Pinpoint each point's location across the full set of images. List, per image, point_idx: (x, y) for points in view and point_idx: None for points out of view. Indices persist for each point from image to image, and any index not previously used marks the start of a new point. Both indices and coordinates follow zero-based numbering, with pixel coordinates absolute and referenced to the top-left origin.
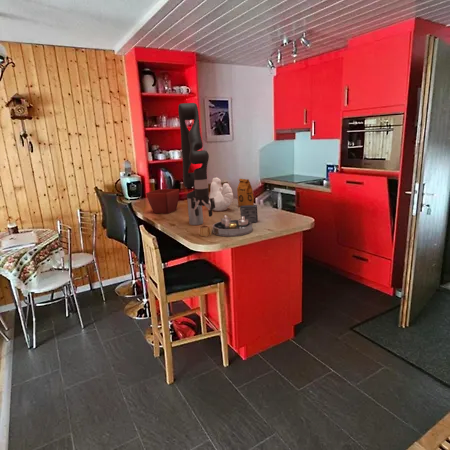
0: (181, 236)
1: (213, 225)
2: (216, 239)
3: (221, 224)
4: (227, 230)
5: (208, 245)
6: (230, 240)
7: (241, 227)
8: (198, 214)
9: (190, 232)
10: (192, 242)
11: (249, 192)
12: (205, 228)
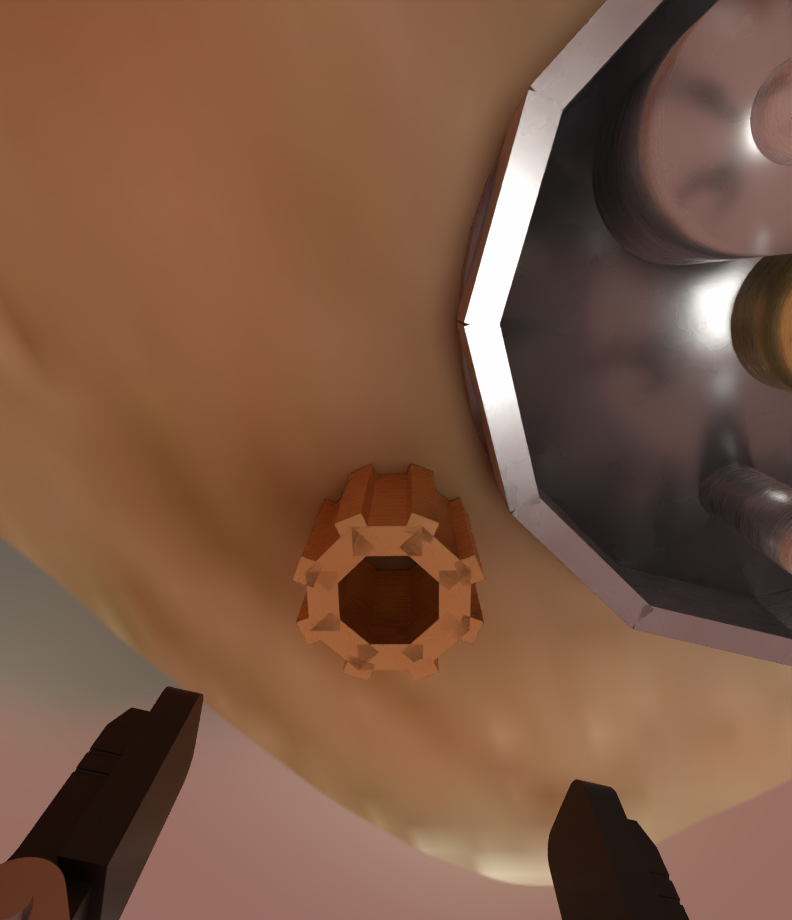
0: (79, 593)
1: (499, 395)
2: (589, 702)
3: (627, 210)
4: (784, 660)
5: (539, 875)
6: (767, 733)
7: None
8: (189, 728)
9: (106, 398)
10: (331, 798)
11: None
12: (427, 670)
